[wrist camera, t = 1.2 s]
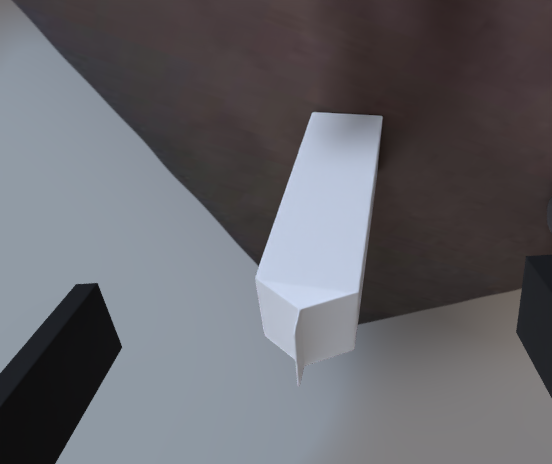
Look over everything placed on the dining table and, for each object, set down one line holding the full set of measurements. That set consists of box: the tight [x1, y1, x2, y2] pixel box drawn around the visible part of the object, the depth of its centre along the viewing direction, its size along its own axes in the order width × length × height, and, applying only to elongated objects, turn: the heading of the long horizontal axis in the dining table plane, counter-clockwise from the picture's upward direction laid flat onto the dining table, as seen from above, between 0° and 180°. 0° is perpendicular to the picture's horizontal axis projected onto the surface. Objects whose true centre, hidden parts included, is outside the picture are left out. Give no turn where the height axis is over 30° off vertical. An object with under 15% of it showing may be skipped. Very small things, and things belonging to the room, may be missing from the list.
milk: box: [255, 112, 383, 386], centre depth 33 cm, size 6×6×22 cm
